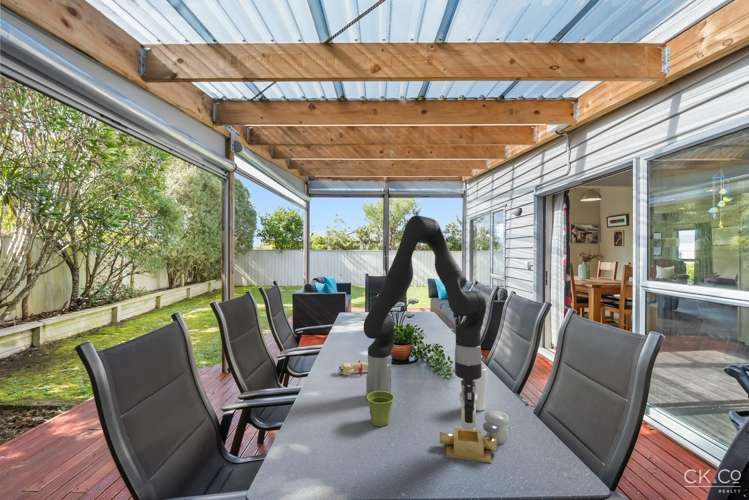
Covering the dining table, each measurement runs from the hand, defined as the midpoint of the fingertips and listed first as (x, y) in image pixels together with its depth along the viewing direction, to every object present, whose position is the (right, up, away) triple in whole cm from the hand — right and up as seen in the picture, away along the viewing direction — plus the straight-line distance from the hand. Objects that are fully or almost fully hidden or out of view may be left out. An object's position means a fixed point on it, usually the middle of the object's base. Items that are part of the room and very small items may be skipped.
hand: (468, 418), depth 99 cm
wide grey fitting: (+10, -9, +6) cm, 15 cm away
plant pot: (-25, -9, +16) cm, 31 cm away
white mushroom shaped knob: (0, -2, 0) cm, 2 cm away
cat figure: (-32, -10, +62) cm, 70 cm away
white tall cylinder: (+11, -9, +26) cm, 30 cm away
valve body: (0, -9, 0) cm, 9 cm away
